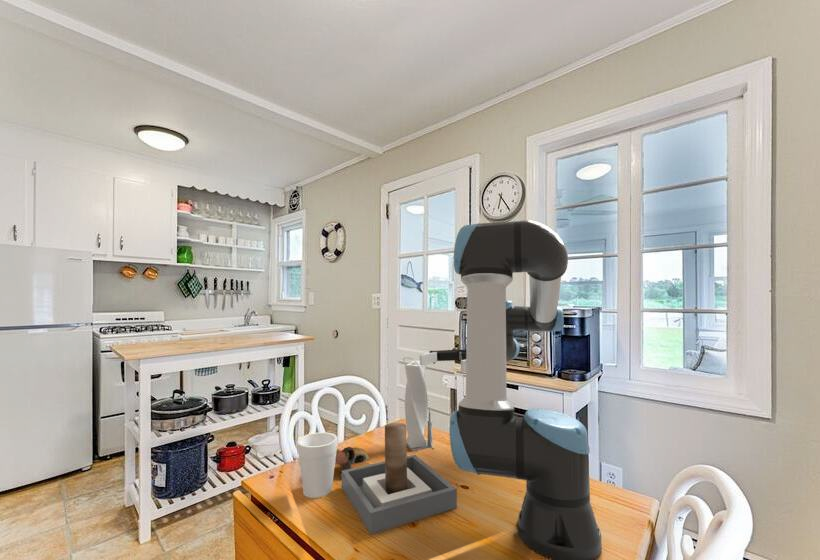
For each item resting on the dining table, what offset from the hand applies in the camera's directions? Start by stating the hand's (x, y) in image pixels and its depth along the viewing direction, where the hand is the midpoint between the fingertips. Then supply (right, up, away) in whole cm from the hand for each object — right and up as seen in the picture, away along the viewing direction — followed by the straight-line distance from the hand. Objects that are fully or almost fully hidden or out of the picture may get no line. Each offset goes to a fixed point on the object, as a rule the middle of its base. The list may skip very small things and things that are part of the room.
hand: (440, 363), depth 96 cm
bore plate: (-11, -29, -10) cm, 32 cm away
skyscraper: (-6, -31, +22) cm, 38 cm away
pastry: (-24, -31, +11) cm, 41 cm away
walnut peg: (-11, -29, -10) cm, 32 cm away
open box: (-11, -30, -10) cm, 33 cm away
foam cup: (-30, -30, -7) cm, 43 cm away
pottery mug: (-27, -31, +3) cm, 41 cm away
